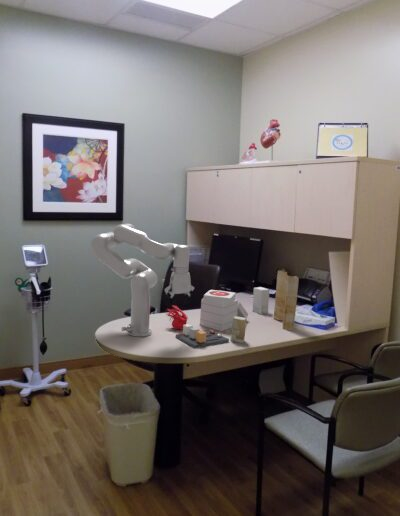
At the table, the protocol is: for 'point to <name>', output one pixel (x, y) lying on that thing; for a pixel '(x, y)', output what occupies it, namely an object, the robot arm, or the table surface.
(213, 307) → the pizza boxes
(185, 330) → the ivory slider
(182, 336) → the panel
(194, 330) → the grey slider
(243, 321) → the skincare box
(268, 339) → the table surface
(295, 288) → the parchment
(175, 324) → the heart organ
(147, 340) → the table surface
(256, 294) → the skincare box
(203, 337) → the orange slider
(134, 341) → the table surface
